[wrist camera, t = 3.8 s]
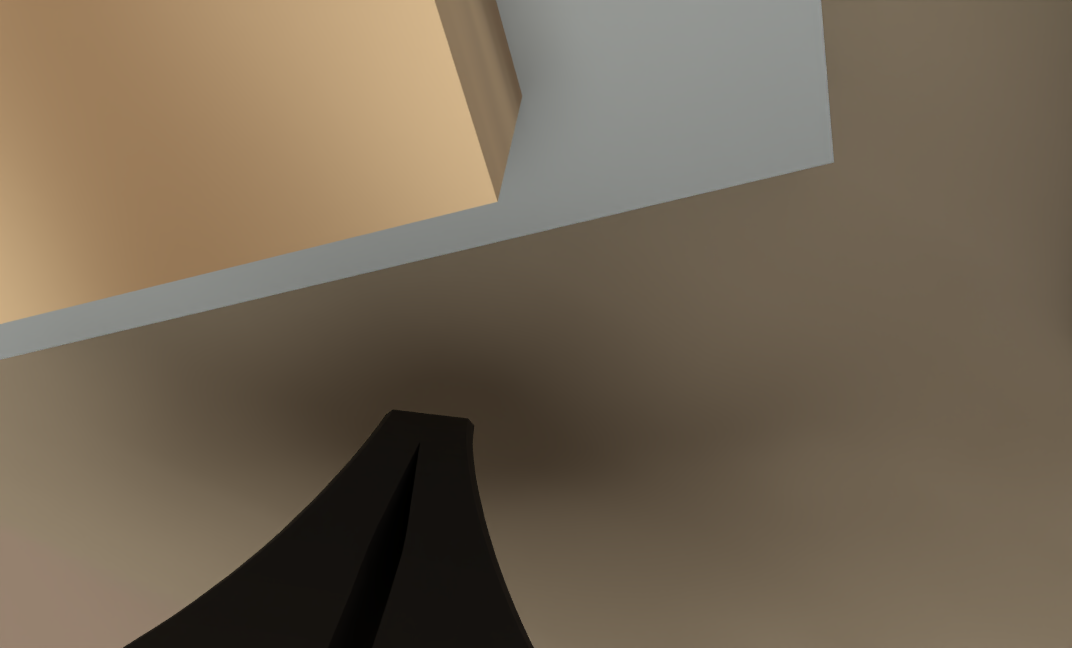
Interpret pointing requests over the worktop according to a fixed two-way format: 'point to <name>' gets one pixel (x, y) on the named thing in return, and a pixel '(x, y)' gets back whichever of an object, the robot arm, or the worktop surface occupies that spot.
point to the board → (566, 143)
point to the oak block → (234, 133)
